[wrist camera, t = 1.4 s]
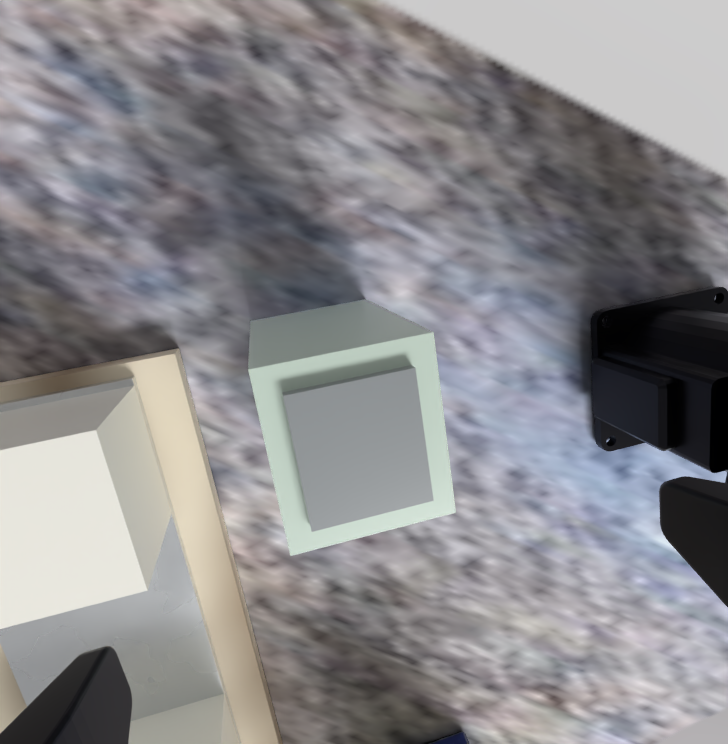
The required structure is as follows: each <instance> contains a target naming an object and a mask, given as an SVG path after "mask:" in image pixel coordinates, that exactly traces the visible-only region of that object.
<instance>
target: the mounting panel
mask: <svg viewBox="0 0 728 744" xmlns="http://www.w3.org/2000/svg"><path fill="white" fill-rule="evenodd" d="M131 376H135V378H136V382H137V385H138V389H139V392H140V396H141V399H142V403H143V406H144V409H145V413H146V416H147V420H148V423H149V427H150V430H151V433H152V437H153V440H154V444H155V447H156V451H157V454H158V458H159V461H160V464H161V468H162V471H163V475H164V478H165V482H166V485H167V489H168V492H169V495H170V499H171V502H172V506H173V509H174V513H175V516H176V519H177V523H178V526H179V530H180V533H181V537H182V540H183V544H184V547H185V550H186V554H187V557H188V561H189V564H190V568H191V571H192V575H193V578H194V581H195V585H196V588H197V592H198V595H199V599H200V602H201V606H202V609H203V612H204V616H205V619H206V623H207V626H208V630H209V633H210V636H211V640H212V643H213V647H214V650H215V654H216V657H217V661H218V664H219V667H220V671H221V674H222V678H223V681H224V685H225V688H226V692H227V695H228V698H229V702H230V705H231V709H232V712H233V716H234V719H235V722H236V726H237V729H238V733H239V736H240V740H241V743H242V744H283V743H282V739H281V735H280V731H279V727H278V724H277V720H276V716H275V712H274V708H273V705H272V701H271V697H270V693H269V689H268V686H267V682H266V678H265V674H264V670H263V666H262V663H261V659H260V655H259V651H258V647H257V644H256V640H255V636H254V632H253V628H252V625H251V621H250V617H249V613H248V609H247V606H246V602H245V598H244V594H243V590H242V587H241V583H240V579H239V575H238V571H237V567H236V564H235V560H234V556H233V552H232V548H231V545H230V541H229V537H228V533H227V529H226V526H225V522H224V518H223V514H222V510H221V507H220V503H219V499H218V495H217V491H216V488H215V484H214V480H213V476H212V472H211V468H210V465H209V461H208V457H207V453H206V449H205V446H204V442H203V438H202V434H201V430H200V427H199V423H198V419H197V415H196V411H195V408H194V404H193V400H192V396H191V392H190V389H189V385H188V381H187V377H186V373H185V369H184V366H183V362H182V358H181V354H180V350H179V348H177V349H172V350H167V351H162V352H156V353H151V354H146V355H141V356H136V357H130V358H125V359H120V360H115V361H110V362H104V363H99V364H94V365H89V366H83V367H78V368H73V369H68V370H63V371H57V372H52V373H47V374H42V375H37V376H31V377H26V378H21V379H16V380H11V381H5V382H0V402H4V401H10V400H15V399H20V398H25V397H30V396H35V395H40V394H45V393H50V392H55V391H60V390H65V389H70V388H75V387H80V386H85V385H91V384H96V383H101V382H106V381H111V380H116V379H121V378H126V377H131ZM26 707H27V705H26V703H25V700H24V698H23V696H22V693H21V691H20V689H19V686H18V684H17V682H16V679H15V677H14V675H13V672H12V670H11V668H10V665H9V663H8V660H7V658H6V656H5V653H4V651H3V649H2V646H1V644H0V733H1V732H2V731H3V730H4V729H5V728H6V727H7V726H8V725H9V724H10V723H11V722H12V721H13V720H14V719H15V718H16V717H17V716H18V715H19V714H20V713H21V712H22V711H23V710H24V709H25V708H26Z"/></svg>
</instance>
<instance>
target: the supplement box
mask: <svg viewBox="0 0 728 744" xmlns="http://www.w3.org/2000/svg"><path fill="white" fill-rule="evenodd" d="M429 744H469V741H468V739H467V737H466V734H465V733H464V732H459V733H457V734H454V735H451V736H448V737H445V738H443V739H440V740H437V741H435V742H432V743H429Z"/></svg>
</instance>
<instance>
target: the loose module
mask: <svg viewBox="0 0 728 744" xmlns="http://www.w3.org/2000/svg"><path fill="white" fill-rule="evenodd" d="M248 372H249V376H250V380H251V385H252V389H253V394H254V398H255V402H256V407H257V411H258V415H259V420H260V424H261V429H262V433H263V437H264V442H265V446H266V451H267V455H268V459H269V464H270V468H271V473H272V477H273V481H274V486H275V490H276V494H277V499H278V503H279V508H280V512H281V516H282V521H283V525H284V530H285V534H286V538H287V543H288V547H289V551H290V556H292V555H296V554H300V553H304V552H308V551H311V550H315V549H319V548H323V547H327V546H330V545H334V544H338V543H342V542H346V541H350V540H353V539H357V538H361V537H365V536H369V535H372V534H376V533H380V532H384V531H388V530H392V529H395V528H399V527H403V526H407V525H411V524H414V523H418V522H422V521H426V520H430V519H433V518H437V517H441V516H445V515H449V514H453V513H456V510H455V502H454V494H453V486H452V477H451V469H450V461H449V453H448V445H447V437H446V429H445V421H444V413H443V405H442V397H441V389H440V381H439V373H438V365H437V357H436V349H435V341H434V333H433V332H432V331H430V330H428V329H426V328H424V327H422V326H420V325H418V324H416V323H414V322H412V321H409V320H407V319H405V318H403V317H401V316H399V315H397V314H395V313H393V312H391V311H389V310H387V309H385V308H383V307H381V306H379V305H377V304H375V303H372V302H370V301H368V300H366V299H364V300H359V301H353V302H348V303H343V304H337V305H332V306H327V307H321V308H316V309H311V310H305V311H300V312H295V313H289V314H284V315H279V316H273V317H268V318H263V319H257V320H252V321H250V339H249V360H248Z"/></svg>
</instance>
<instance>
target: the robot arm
mask: <svg viewBox="0 0 728 744" xmlns="http://www.w3.org/2000/svg"><path fill="white" fill-rule="evenodd" d="M715 296H716V300H715V301H714V298H715ZM604 317H606V319H607V321H606V323H605V325H604V326H603V325H602V320H603V319H604ZM591 338H592V364H591V372H592V396H593V414H594V416H595V436H596V444H597V445H598V446H599V447H600V448H602V449H604V450H606V451H614V450H618V449H622V448H626V447H630V446H634V445H637V444H641V443H647V444H649V445H651V446H653V447H655V448H657V449H659V450H661V451H666V450H668V451H670V452H672V453H674V454H676V455H678V456H680V457H682V458H684V459H686V460H688V461H690V462H692V463H694V464H696V465H698V466H700V467H702V468H704V469H706V470H708V471H710V472H712V473H717V472H721V471H726V472H727V476H726V481H725V483H721V482H716V481H710V480H704V479H699V478H693V477H679V478H676V479H673V480H669V481H666V482H664V483H663V484H662V485H661V487H660V490H659V498H660V525H661V529H662V532H663V534H664V536H665V537H666V539H667V540H668V541H669V542H670V544H671V545H672V546H673V547H674V548H675V549H676V550H677V551H678V553H679V554H680V555H681V556H682V557H683V558H684V559H685V560H686V561H687V563H688V564H689V565H690V566H691V567H692V568H693V569H694V570H695V571H696V573H697V574H698V575H699V576H700V577H701V578H702V579H703V580H704V582H705V583H706V584H707V585H708V586H709V587H710V588H711V589H712V590H713V592H714V593H715V594H716V595H717V596H718V597H719V598H720V599H721V600H722V602H723V603H724V604H725V605H726V606H727V607H728V291H727V289H725V288H724V287H713V286H712V287H707V288H702V289H697V290H692V291H687V292H682V293H678V294H673V295H668V296H663V297H658V298H653V299H648V300H644V301H639V302H634V303H629V304H624V305H619V306H615V307H610V308H605V309H600V310H598V311H596V312H595V313H594V314H593V316H592V318H591ZM608 437H610V440H609V441H608V442H607V443H606V440H607V438H608ZM131 713H132V694H131V689H130V686H129V683H128V681H127V678H126V676H125V673H124V671H123V668H122V665H121V663H120V660H119V658H118V655H117V653H116V651H115V650H114V648H113V647H111V646H103V647H100V648H96V649H93V650H89V651H86V652H83V653H81V654H80V655H78V656H77V657H76V658H75V659H74V660H73V661H72V662H71V663H70V664H69V665H68V666H67V667H66V668H65V669H64V670H63V671H62V672H61V673H60V674H59V675H58V676H57V677H56V678H55V679H54V680H53V681H52V682H51V683H50V684H49V685H48V686H47V687H46V688H45V689H44V690H43V691H42V692H41V693H40V694H39V695H38V696H37V697H36V698H35V699H34V700H33V701H32V702H31V703H30V704H29V705H28V706H27V707H26V708H25V709H24V710H23V711H22V712H21V713H20V714H19V715H18V716H17V717H16V718H15V719H14V720H13V721H12V722H11V723H10V724H9V725H8V726H7V727H6V728H5V729H4V730H3V731H2V732H1V733H0V744H128V741H129V731H130V722H131Z"/></svg>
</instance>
